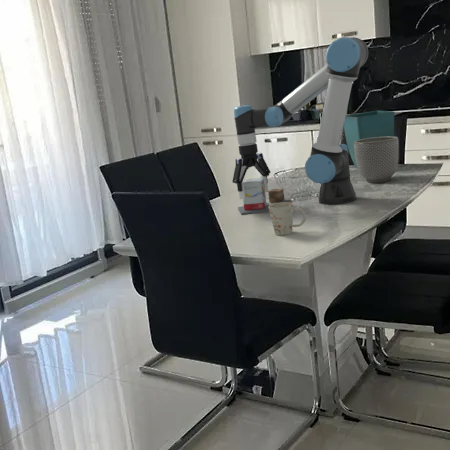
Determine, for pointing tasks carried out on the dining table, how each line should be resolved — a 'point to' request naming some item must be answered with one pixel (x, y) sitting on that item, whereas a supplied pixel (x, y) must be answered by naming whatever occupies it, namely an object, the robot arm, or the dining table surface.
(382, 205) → the dining table surface
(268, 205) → the slate pad
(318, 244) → the dining table surface
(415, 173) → the dining table surface
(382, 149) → the planter
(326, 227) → the dining table surface
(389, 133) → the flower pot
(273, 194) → the walnut block
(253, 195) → the ink box
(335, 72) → the robot arm
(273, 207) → the mug
